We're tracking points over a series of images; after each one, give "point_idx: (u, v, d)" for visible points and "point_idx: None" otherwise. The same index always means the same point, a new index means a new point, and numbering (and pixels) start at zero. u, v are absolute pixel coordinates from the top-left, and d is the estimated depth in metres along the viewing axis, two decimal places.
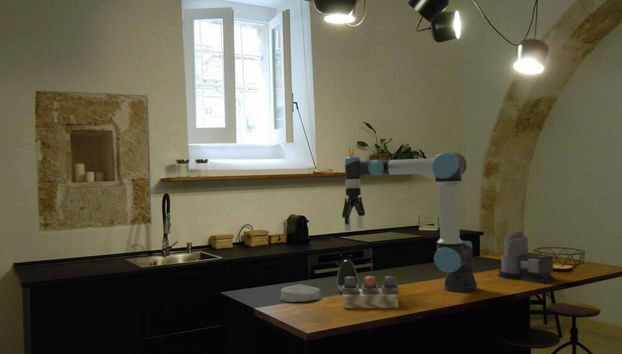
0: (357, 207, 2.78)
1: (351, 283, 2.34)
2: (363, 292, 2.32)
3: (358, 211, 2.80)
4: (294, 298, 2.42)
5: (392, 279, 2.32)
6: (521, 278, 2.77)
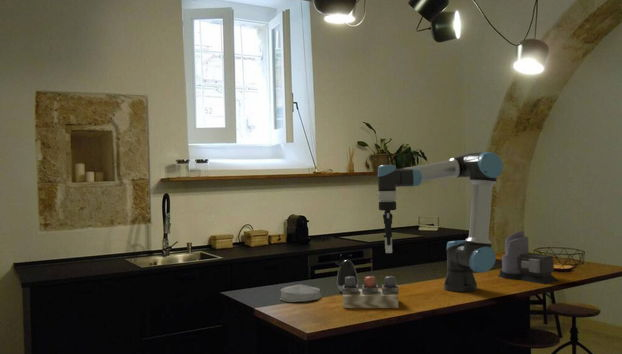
0: None
1: (351, 283, 2.34)
2: (363, 292, 2.32)
3: None
4: (294, 298, 2.42)
5: (392, 279, 2.32)
6: (522, 278, 2.77)
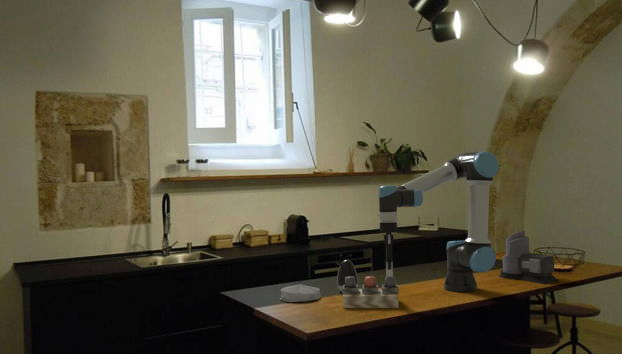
0: None
1: (351, 283, 2.34)
2: (363, 292, 2.32)
3: None
4: (294, 298, 2.42)
5: (392, 279, 2.32)
6: (522, 278, 2.77)
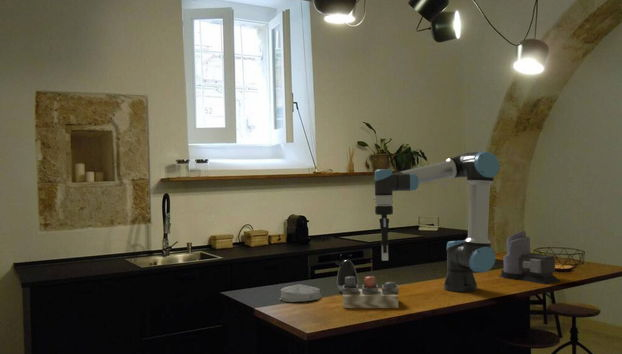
0: None
1: (351, 283, 2.34)
2: (363, 292, 2.32)
3: None
4: (294, 298, 2.42)
5: (392, 285, 2.32)
6: (523, 278, 2.77)
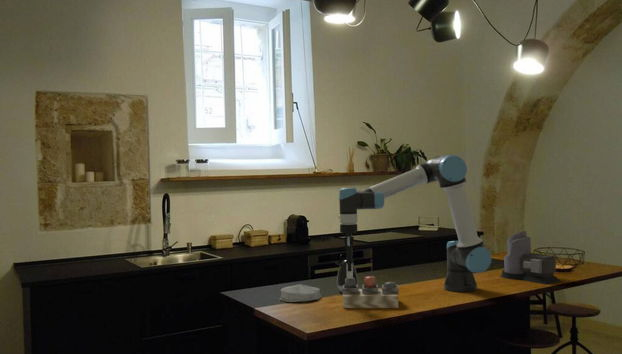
0: None
1: (351, 285, 2.34)
2: (363, 292, 2.32)
3: None
4: (294, 298, 2.42)
5: (392, 285, 2.32)
6: (524, 278, 2.77)
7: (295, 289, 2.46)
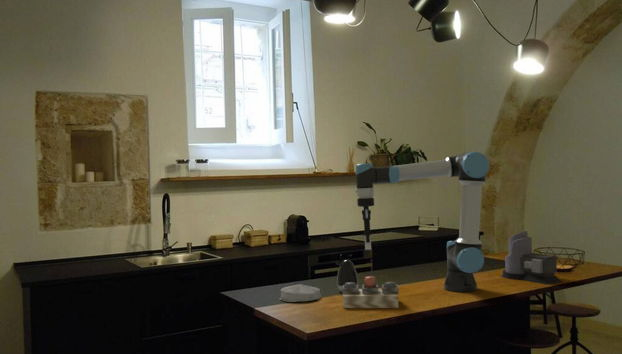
0: None
1: None
2: (363, 292, 2.32)
3: None
4: (294, 298, 2.42)
5: (392, 285, 2.32)
6: (525, 278, 2.76)
7: (295, 289, 2.46)
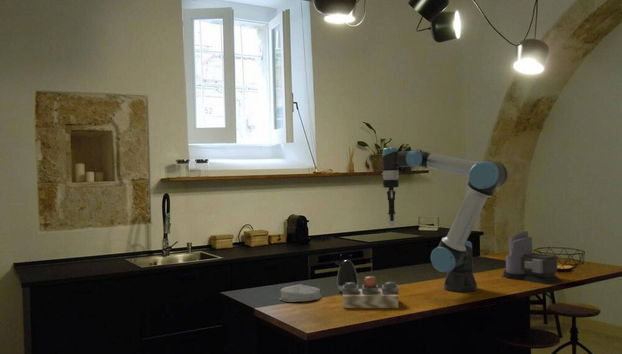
0: None
1: None
2: (363, 292, 2.32)
3: None
4: (294, 298, 2.42)
5: (392, 285, 2.32)
6: (525, 278, 2.76)
7: (295, 289, 2.46)
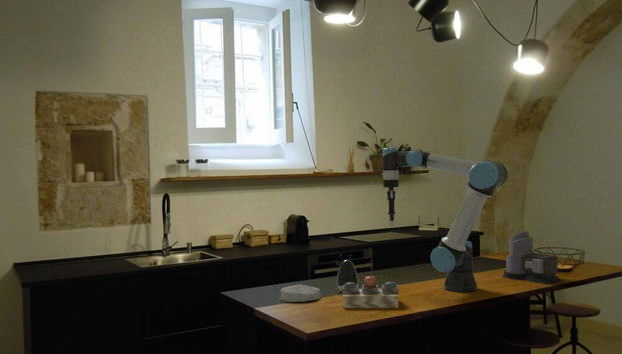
0: None
1: None
2: (363, 292, 2.32)
3: None
4: (294, 298, 2.42)
5: (392, 285, 2.32)
6: (525, 278, 2.76)
7: (295, 289, 2.46)
